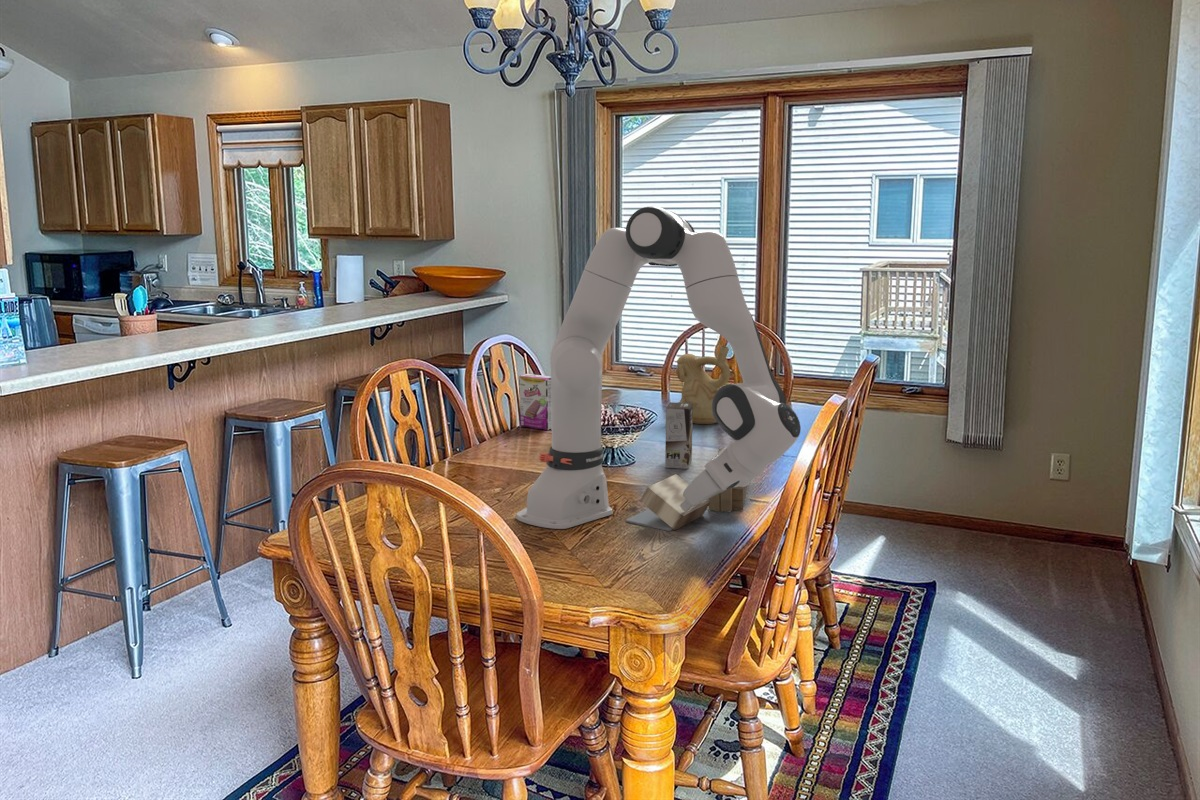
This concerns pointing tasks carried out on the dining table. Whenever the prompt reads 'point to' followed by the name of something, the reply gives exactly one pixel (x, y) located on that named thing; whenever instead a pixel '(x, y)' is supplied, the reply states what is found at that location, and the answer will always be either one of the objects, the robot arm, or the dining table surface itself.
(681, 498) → the maple block
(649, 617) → the dining table surface
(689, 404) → the coffee box
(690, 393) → the ceramic vessel
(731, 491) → the block tower
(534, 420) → the candy bar box
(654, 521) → the mat
